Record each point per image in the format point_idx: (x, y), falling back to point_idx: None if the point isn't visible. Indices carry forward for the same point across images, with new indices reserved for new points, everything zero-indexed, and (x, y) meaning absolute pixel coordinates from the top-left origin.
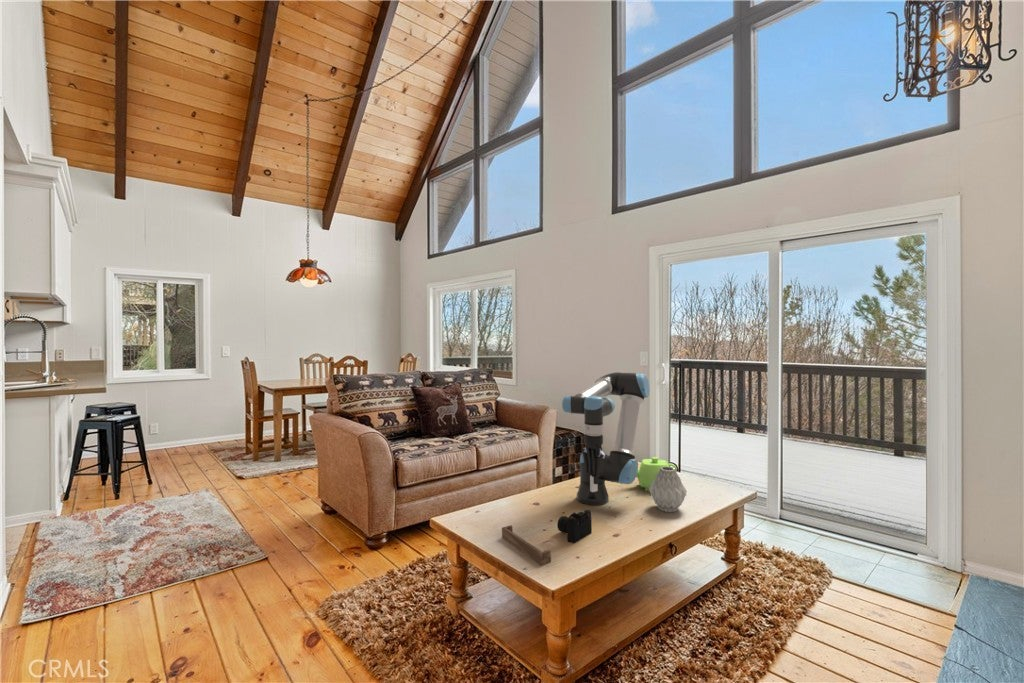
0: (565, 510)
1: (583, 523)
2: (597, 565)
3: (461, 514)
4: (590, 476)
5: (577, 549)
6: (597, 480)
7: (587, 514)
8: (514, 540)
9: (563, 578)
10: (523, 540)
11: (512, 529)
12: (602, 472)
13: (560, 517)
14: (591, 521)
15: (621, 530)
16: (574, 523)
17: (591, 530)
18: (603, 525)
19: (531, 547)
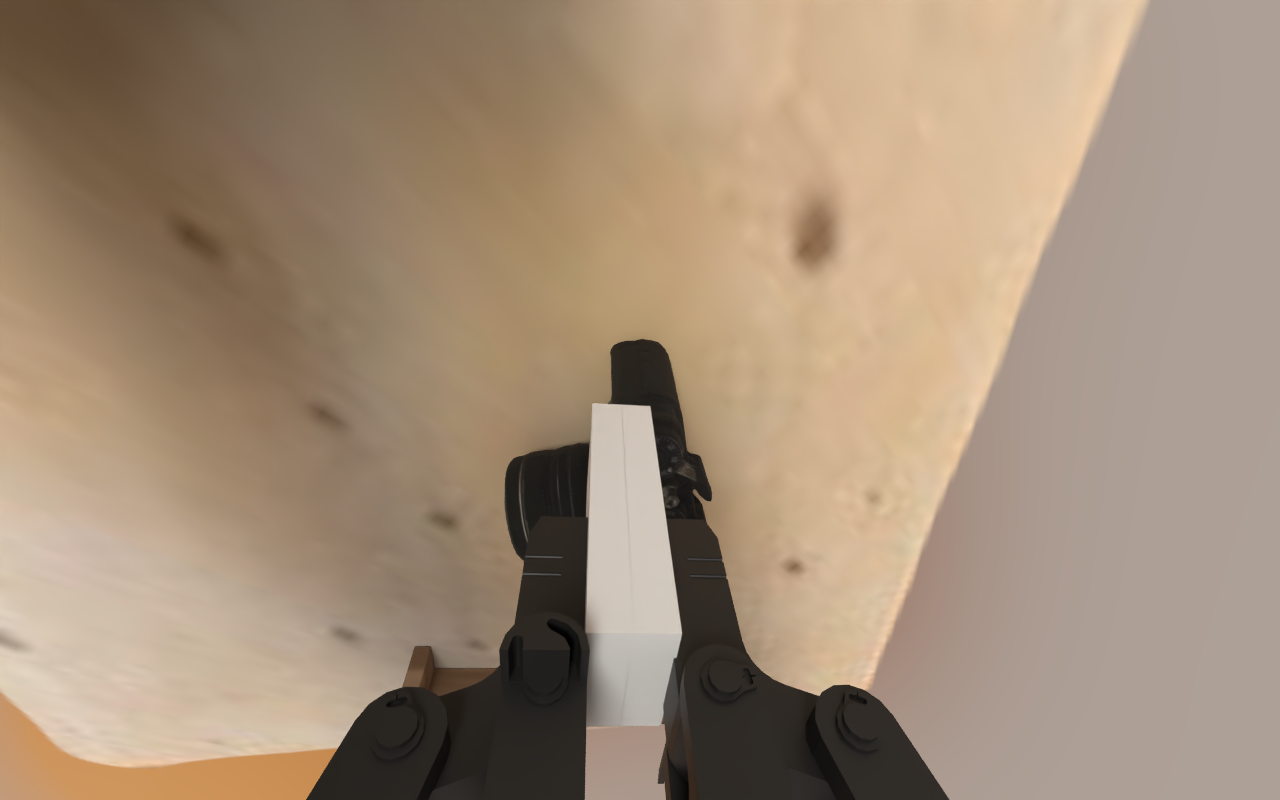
0: (146, 186)
1: (694, 498)
2: (906, 553)
3: (39, 696)
4: (591, 707)
5: (745, 529)
6: (721, 591)
7: (686, 481)
8: None
9: (846, 669)
10: None
11: (420, 679)
12: (935, 781)
13: (523, 557)
14: (674, 391)
15: (805, 122)
16: None
17: (668, 359)
18: (631, 167)
19: (664, 723)
